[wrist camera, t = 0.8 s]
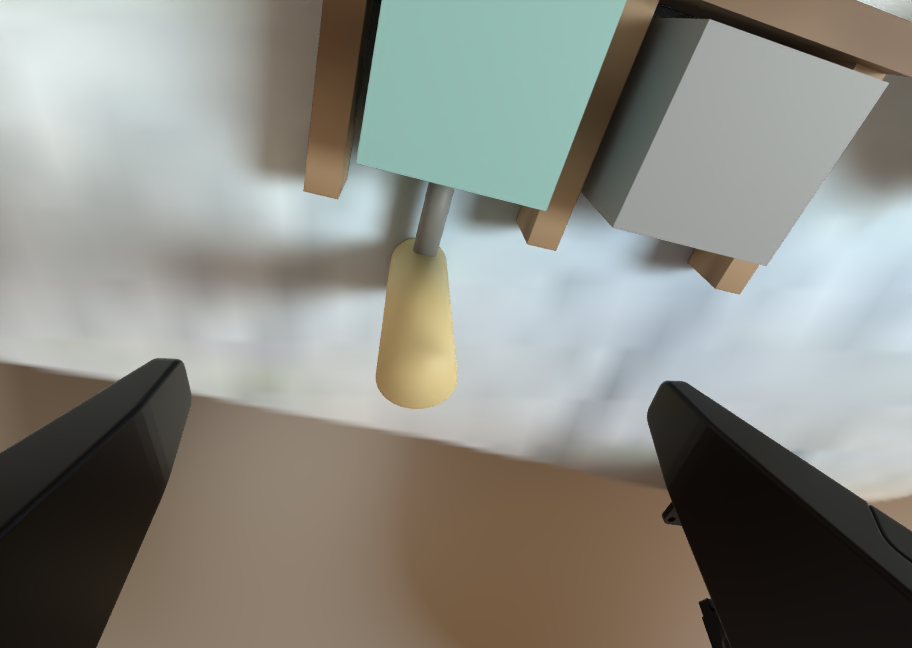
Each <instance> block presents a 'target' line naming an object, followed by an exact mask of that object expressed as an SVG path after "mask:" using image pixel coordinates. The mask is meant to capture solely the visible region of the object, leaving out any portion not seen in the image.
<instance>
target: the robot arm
mask: <svg viewBox="0 0 912 648" xmlns="http://www.w3.org/2000/svg"><path fill="white" fill-rule="evenodd" d="M191 398H192V397H191V391H190V386H189V382H188V378H187V373H186V369H185V366H184V363H183V362H182V361H181V360H179V359H167V358H156V359H153V360H151V361H149V362H148V363H146V364H145V365H143V366H141V367H140V368H138V369H136V370H135V371H133V372H131V373H130V374H128V375H127V376H125V377H123V378H122V379H120V380H118V381H117V382H115V383H113V384H112V385H110V386H109V387H107V388H105V389H104V390H102V391H100V392H99V393H97V394H96V395H94V396H92V397H91V398H89V399H88V400H86V401H84V402H82V403H81V404H79V405H78V406H76V407H74V408H73V409H71V410H69V411H68V412H66V413H65V414H63V415H61V416H60V417H58V418H56V419H55V420H53V421H51V422H50V423H48V424H46V425H45V426H43V427H42V428H40V429H38V430H37V431H35V432H33V433H32V434H30V435H29V436H27V437H25V438H24V439H22V440H21V441H19V442H17V443H15V444H14V445H12V446H11V447H9V448H7V449H6V450H4V451H2V452H1V453H0V648H96V647H97V645H98V642H99V640H100V638H101V636H102V633H103V631H104V629H105V627H106V624H107V622H108V620H109V617H110V615H111V613H112V610H113V608H114V606H115V604H116V601H117V599H118V597H119V594H120V592H121V590H122V588H123V585H124V583H125V581H126V578H127V576H128V574H129V572H130V569H131V567H132V565H133V562H134V560H135V558H136V555H137V553H138V551H139V549H140V546H141V544H142V541H143V540H144V537H145V535H146V533H147V530H148V528H149V526H150V524H151V521H152V519H153V516H154V514H155V512H156V510H157V507H158V505H159V503H160V501H161V498H162V496H163V493H164V491H165V488H166V486H167V482H168V480H169V477H170V474H171V470H172V466H173V464H174V460H175V457H176V454H177V450H178V447H179V443H180V441H181V437H182V434H183V431H184V427H185V424H186V420H187V417H188V414H189V411H190V407H191ZM647 421H648V425H649V428H650V432H651V435H652V439H653V442H654V446H655V449H656V453H657V456H658V460H659V463H660V467H661V470H662V473H663V477H664V480H665V483H666V486H667V489H668V492H669V495H670V497H671V500H672V502H671V503H670V505H669V506H668V507H667V509H666V510H665V511H664V512H663V514H662V518H663V520H664V522H665V523H667V524H672V525H680V526H682V528H683V530H684V532H685V535H686V537H687V540H688V542H689V545H690V547H691V550H692V552H693V555H694V557H695V560H696V562H697V565H698V567H699V570H700V572H701V575H702V577H703V580H704V582H705V584H706V587H707V590H708V592H709V594H710V597H711V599H708V598H706V599H705V600H702V601H700V602H699V605H700V608H701V611H702V614H703V617H702V619H703V622H704V625H705V628H706V631H707V633H708V636H709V639H710V642H711V645H712V648H912V531H910V530H909V529H907V528H906V527H904V526H903V525H901V524H899V523H898V522H897V521H895V520H893V519H892V518H890V517H889V516H887V515H886V514H884V513H883V512H881V511H880V510H878V509H877V508H875V507H874V506H872V505H868V503H867V502H866V501H865V500H863V499H862V498H860V497H859V496H857V495H856V494H854V493H853V492H851V491H850V490H848V489H847V488H845V487H843V486H842V485H840V484H839V483H837V482H836V481H834V480H833V479H831V478H830V477H828V476H827V475H825V474H824V473H822V472H821V471H819V470H818V469H816V468H815V467H813V466H812V465H810V464H809V463H807V462H806V461H804V460H803V459H801V458H800V457H798V456H797V455H795V454H794V453H792V452H791V451H789V450H787V449H786V448H784V447H783V446H781V445H780V444H778V443H777V442H775V441H774V440H772V439H771V438H769V437H768V436H766V435H765V434H763V433H762V432H760V431H759V430H757V429H756V428H754V427H753V426H751V425H750V424H748V423H747V422H745V421H744V420H742V419H741V418H739V417H738V416H736V415H735V414H733V413H732V412H730V411H729V410H727V409H726V408H724V407H722V406H721V405H719V404H718V403H716V402H715V401H713V400H712V399H710V398H709V397H707V396H706V395H704V394H703V393H701V392H700V391H698V390H697V389H695V388H694V387H692V386H691V385H689V384H688V383H686V382H683V381H664V382H663V383H662V384H661V385H660V387H659V389H658V391H657V393H656V395H655V396H654V398H653V400H652V402H651V404H650V406H649V409H648V412H647Z"/></svg>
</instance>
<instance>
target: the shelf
mask: <svg viewBox="0 0 912 648" xmlns="http://www.w3.org/2000/svg"><path fill="white" fill-rule="evenodd" d="M373 4H374V0H323V8H322V18H321V27H320V37H319V47H318V56H317V66H316V75H315V85H314V94H313V104H312V114H311V123H310V133H309V142H308V152H307V162H306V171H305V181H304V190H303V191H305V192H309V193H313V194H317V195H322V196H326V197H330V198H334V199H338V198H339V196H340V194H341V191H342V189H343V187H344V185H345V182H346V180H347V176H348V170H349V163H350V156H351V150H352V143H353V136H354V130H355V123H356V117H357V110H358V103H359V97H360V90H361V83H362V77H363V70H364V63H365V57H366V50H367V44H368V37H369V30H370V24H371V17H372V10H373ZM658 4H660V5H663V6H665V7H668V8H671V9H674V10H676V11H679V12H682V13H685V14H688V15H690V16H693V17H696V18H699V19H711V20H714V21H716V22H719V23H722V24H725V25H728V26H730V27H733V28H736V29H739V30H742V31H745V32H747V33H750V34H753V35H756V36H759V37H761V38H764V39H767V40H770V41H773V42H775V43H778V44H781V45H784V46H787V47H790V48H792V49H795V50H798V51H801V52H804V53H806V54H809V55H812V56H815V57H818V58H820V59H823V60H826V61H829V62H832V63H835V64H837V65H840V66H843V67H846V68H849V69H851V70H854V71H857V72H860V73H863V74H865V75H868V76H871V77H874V78H877V79H880V80H883V78H884V77H885V75H886V74H891V75H899V76H906V77H912V22H910V21H907V20H905V19H902V18H900V17H897V16H895V15H892V14H890V13H887V12H884V11H882V10H879V9H877V8H874V7H872V6H869V5H867V4H864V3H862V2H859V1H857V0H627V1H626V3H625V6H624V9H623V11H622V14H621V17H620V19H619V22H618V24H617V27H616V30H615V32H614V35H613V38H612V40H611V43H610V45H609V48H608V51H607V53H606V56H605V58H604V61H603V64H602V66H601V69H600V72H599V74H598V77H597V79H596V82H595V85H594V87H593V90H592V93H591V95H590V98H589V100H588V103H587V106H586V108H585V111H584V114H583V116H582V119H581V121H580V124H579V127H578V129H577V132H576V135H575V137H574V140H573V142H572V145H571V148H570V150H569V153H568V155H567V158H566V161H565V163H564V166H563V169H562V171H561V174H560V176H559V179H558V182H557V184H556V187H555V190H554V192H553V195H552V197H551V200H550V203H549V205H548V208H547V211H543V210H539V209H535V208H531V207H527V206H523V205H522V206H521V209H520V212H519V215H518V217H517V223H518V225H519V227H520V229H521V232H522V234H523V236H524V238H525V241H526V243H527V244H529V245H533V246H537V247H541V248H546V249H550V250H554V251H556V250H557V247H558V245H559V242H560V240H561V237H562V235H563V233H564V230H565V228H566V225H567V223H568V220H569V218H570V216H571V213H572V211H573V208H574V206H575V203H576V201H577V199H578V196H579V194H580V191H581V189H582V186H583V184H584V182H585V179H586V177H587V174H588V172H589V170H590V167H591V165H592V162H593V160H594V157H595V155H596V153H597V150H598V148H599V145H600V143H601V140H602V138H603V136H604V133H605V131H606V128H607V126H608V123H609V121H610V119H611V116H612V114H613V111H614V109H615V106H616V104H617V102H618V99H619V97H620V94H621V92H622V90H623V87H624V85H625V82H626V80H627V77H628V75H629V73H630V70H631V68H632V65H633V63H634V60H635V58H636V56H637V53H638V51H639V48H640V46H641V43H642V41H643V39H644V36H645V34H646V31H647V29H648V27H649V24H650V22H651V19H652V17H653V14H654V12H655V10H656V7H657V5H658ZM688 263H689V264H690V265H691V266H692V267H693V268H694V269H695V270H696V271H697V272H698V273H699V274H700V275H701V276H702V277H703V278H704V279H706V280H707V281H708V282H709V283H710V284H711V285H712V286H713V287H714V288H715V289H719V290H723V291H727V292H731V293H736V294H740V293H741V292H742V290H743V289H744V287H745V286H746V284H747V283H748V281H749V280H750V278H751V277H752V275H753V274H754V272H755V271H756V269H757V268H758V266H759V264H756V263H752V262H748V261H744V260H740V259H736V258H732V257H728V256H724V255H720V254H716V253H712V252H708V251H704V250H700V249H695V250H694V252H693V254H692V256H691V257H690V259H689V261H688Z"/></svg>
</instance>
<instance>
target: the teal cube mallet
mask: <svg viewBox="0 0 912 648" xmlns="http://www.w3.org/2000/svg"><path fill="white" fill-rule="evenodd" d="M626 1H627V0H382V2H381V9H380V15H379V21H378V28H377V34H376V40H375V47H374V53H373V59H372V66H371V72H370V78H369V85H368V91H367V97H366V104H365V110H364V116H363V122H362V129H361V135H360V141H359V148H358V154H357V160H356V163H357V164H361V165H365V166H369V167H373V168H377V169H381V170H385V171H389V172H393V173H396V174H400V175H404V176H408V177H412V178H416V179H420V180H424V181H428V182H429V184H428V188H427V192H426V196H425V201H424V205H423V209H422V213H421V217H420V221H419V225H418V230H417V234H416V238H412V239H408V240H406V241H404V242H402V243H401V244H399V245H398V246H397V247H396V248H395V250H394V251H393V253H392V256H391V260H390V268H389V276H388V284H387V291H386V299H385V307H384V315H383V323H382V331H381V338H380V346H379V354H378V362H377V370H376V383H377V386H378V389H379V390H380V392H381V393H382V395H383V396H384V397H385V398H386V399H388V400H389V401H390V402H392V403H394V404H396V405H398V406H401V407H405V408H411V409H422V408H428V407H432V406H435V405H437V404H439V403H441V402H443V401H444V400H446V399H447V398H448V397H449V396H450V395H451V394H452V392H453V391H454V389H455V387H456V384H457V379H458V375H457V364H456V354H455V344H454V334H453V323H452V313H451V303H450V293H449V283H448V272H447V262H446V257H445V254H444V252H443V250H442V249H441V248H440V247H439V244H440V240H441V236H442V233H443V229H444V225H445V222H446V218H447V214H448V210H449V207H450V203H451V199H452V196H453V192H454V188H456V189H460V190H464V191H468V192H472V193H476V194H480V195H484V196H487V197H491V198H495V199H499V200H503V201H507V202H511V203H515V204H519V205H523V206H527V207H531V208H535V209H539V210H543V211H547V208H548V205H549V203H550V200H551V197H552V195H553V192H554V190H555V187H556V184H557V182H558V179H559V176H560V174H561V171H562V169H563V166H564V163H565V161H566V158H567V155H568V153H569V150H570V148H571V145H572V142H573V140H574V137H575V135H576V132H577V129H578V127H579V124H580V121H581V119H582V116H583V114H584V111H585V108H586V106H587V103H588V100H589V98H590V95H591V93H592V90H593V87H594V85H595V82H596V79H597V77H598V74H599V72H600V69H601V66H602V64H603V61H604V58H605V56H606V53H607V51H608V48H609V45H610V43H611V40H612V38H613V35H614V32H615V30H616V27H617V24H618V22H619V19H620V17H621V14H622V11H623V9H624V6H625V3H626Z"/></svg>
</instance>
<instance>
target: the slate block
mask: <svg viewBox="0 0 912 648" xmlns="http://www.w3.org/2000/svg"><path fill="white" fill-rule="evenodd" d="M888 85H889V83H888V82H885V81H882V80H880V79H877V78H874V77H871V76H868V75H865V74H863V73H860V72H857V71H854V70H851V69H849V68H846V67H843V66H840V65H837V64H835V63H832V62H829V61H826V60H823V59H820V58H818V57H815V56H812V55H809V54H806V53H804V52H801V51H798V50H795V49H792V48H790V47H787V46H784V45H781V44H778V43H775V42H773V41H770V40H767V39H764V38H761V37H759V36H756V35H753V34H750V33H747V32H745V31H742V30H739V29H736V28H733V27H730V26H728V25H725V24H722V23H719V22H716V21H714V20H711V19H690V18H656V17H652V19H651V22H650V24H649V27H648V29H647V31H646V34H645V36H644V39H643V41H642V43H641V46H640V48H639V51H638V53H637V56H636V58H635V60H634V63H633V65H632V68H631V70H630V73H629V75H628V77H627V80H626V82H625V85H624V87H623V90H622V92H621V94H620V97H619V99H618V102H617V104H616V106H615V109H614V111H613V114H612V116H611V119H610V121H609V123H608V126H607V128H606V131H605V133H604V136H603V138H602V140H601V143H600V145H599V148H598V150H597V153H596V155H595V157H594V160H593V162H592V165H591V167H590V170H589V172H588V174H587V177H586V179H585V182H584V184H583V186H582V189H581V192H582V193H583V194H584V195H585V196H586V198H587V199H588V200H589V201H590V202H591V203H592V204H593V206H594V207H595V208H596V209H597V210H598V211H599V212H600V214H601V215H602V216H603V217H604V218H605V219H606V220H607V222H608V223H609V224H610V225H611V226H612V227H613V228H616V229H620V230H624V231H628V232H632V233H636V234H640V235H644V236H648V237H652V238H656V239H660V240H664V241H668V242H672V243H676V244H680V245H684V246H688V247H692V248H696V249H700V250H704V251H708V252H712V253H716V254H720V255H724V256H728V257H732V258H736V259H740V260H744V261H748V262H752V263H756V264H760V265H764V266H767V265H768V263H769V262H770V260H771V259H772V257H773V256H774V254H775V253H776V251H777V250H778V248H779V247H780V245H781V244H782V242H783V241H784V239H785V238H786V236H787V235H788V233H789V232H790V230H791V229H792V227H793V226H794V224H795V223H796V221H797V220H798V218H799V217H800V215H801V214H802V212H803V211H804V209H805V208H806V207H807V205H808V204H809V202H810V201H811V199H812V198H813V196H814V195H815V193H816V192H817V190H818V189H819V187H820V186H821V184H822V183H823V181H824V180H825V178H826V177H827V175H828V174H829V172H830V171H831V169H832V168H833V166H834V165H835V163H836V162H837V160H838V159H839V157H840V156H841V154H842V153H843V151H844V150H845V149H846V147H847V146H848V144H849V143H850V141H851V140H852V138H853V137H854V135H855V134H856V132H857V131H858V129H859V128H860V126H861V125H862V123H863V122H864V120H865V119H866V117H867V116H868V114H869V113H870V111H871V110H872V108H873V107H874V105H875V104H876V102H877V101H878V99H879V98H880V96H881V95H882V93H883V92H884V90H885V89H886V88H887V86H888Z"/></svg>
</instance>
